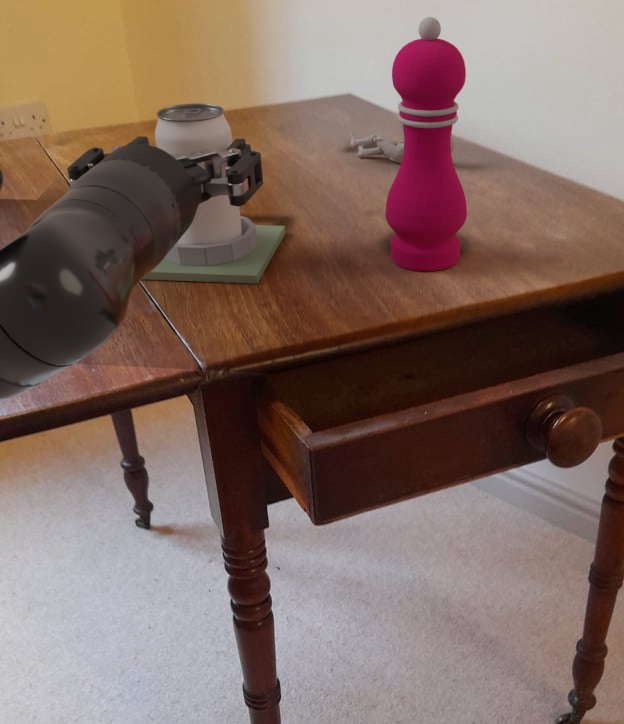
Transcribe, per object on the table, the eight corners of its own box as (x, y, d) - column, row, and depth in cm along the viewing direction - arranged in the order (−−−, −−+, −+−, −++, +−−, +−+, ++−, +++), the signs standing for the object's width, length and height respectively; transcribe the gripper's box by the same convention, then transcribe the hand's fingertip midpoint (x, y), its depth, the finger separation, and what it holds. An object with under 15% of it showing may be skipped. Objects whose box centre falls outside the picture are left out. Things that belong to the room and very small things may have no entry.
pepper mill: (392, 241, 83) (392, 9, 72) (468, 245, 82) (479, 10, 71) (379, 271, 77) (376, 23, 66) (460, 276, 76) (471, 25, 65)
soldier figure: (369, 157, 109) (460, 131, 105) (371, 192, 108) (464, 167, 103) (342, 123, 102) (439, 94, 98) (344, 160, 101) (442, 132, 96)
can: (166, 261, 77) (143, 121, 71) (178, 234, 83) (159, 102, 76) (238, 260, 77) (223, 120, 71) (246, 233, 83) (233, 101, 76)
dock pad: (123, 279, 76) (118, 252, 75) (166, 229, 86) (162, 204, 85) (257, 284, 75) (254, 256, 74) (285, 233, 85) (283, 208, 84)
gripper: (219, 163, 59) (271, 104, 72) (17, 158, 60) (105, 102, 73) (231, 268, 63) (278, 194, 76) (42, 261, 64) (121, 190, 77)
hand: (193, 149), depth 75 cm, fingers open, 8 cm apart
